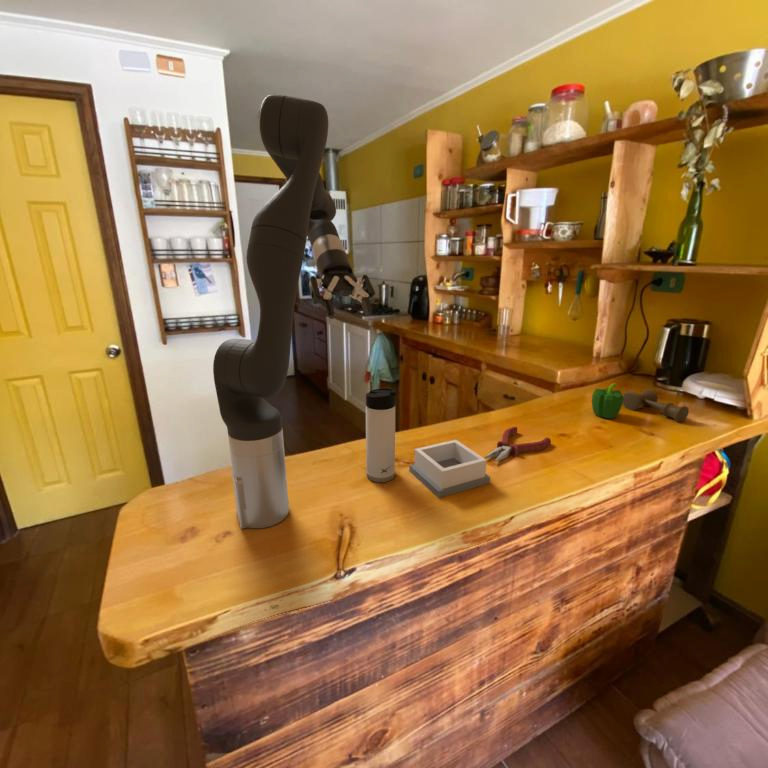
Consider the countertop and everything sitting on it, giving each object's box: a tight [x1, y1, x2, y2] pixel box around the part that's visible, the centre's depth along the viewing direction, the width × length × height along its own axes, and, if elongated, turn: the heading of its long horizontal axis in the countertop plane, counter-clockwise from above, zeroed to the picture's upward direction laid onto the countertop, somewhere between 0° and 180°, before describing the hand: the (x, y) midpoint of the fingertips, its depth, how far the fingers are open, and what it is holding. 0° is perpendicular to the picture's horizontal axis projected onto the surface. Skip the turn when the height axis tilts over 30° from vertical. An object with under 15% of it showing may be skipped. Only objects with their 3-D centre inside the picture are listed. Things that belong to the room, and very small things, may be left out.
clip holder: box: [408, 439, 491, 499], centre depth 90 cm, size 13×12×6 cm
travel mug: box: [365, 387, 398, 483], centre depth 89 cm, size 6×7×20 cm
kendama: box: [621, 389, 690, 423], centre depth 128 cm, size 6×10×20 cm
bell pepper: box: [591, 382, 624, 420], centre depth 124 cm, size 8×8×10 cm
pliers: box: [483, 426, 552, 463], centre depth 104 cm, size 12×20×3 cm, turn 133°
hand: (350, 315), depth 91 cm, fingers open, 8 cm apart
